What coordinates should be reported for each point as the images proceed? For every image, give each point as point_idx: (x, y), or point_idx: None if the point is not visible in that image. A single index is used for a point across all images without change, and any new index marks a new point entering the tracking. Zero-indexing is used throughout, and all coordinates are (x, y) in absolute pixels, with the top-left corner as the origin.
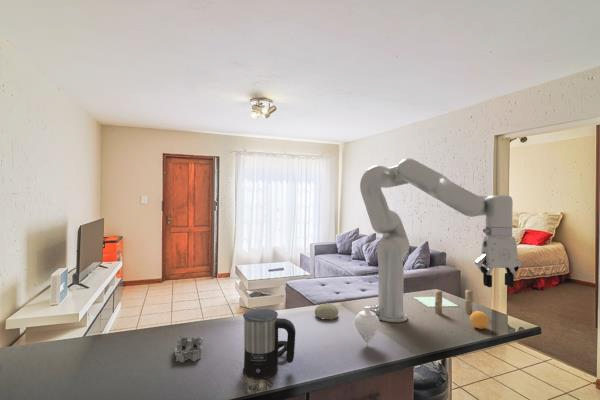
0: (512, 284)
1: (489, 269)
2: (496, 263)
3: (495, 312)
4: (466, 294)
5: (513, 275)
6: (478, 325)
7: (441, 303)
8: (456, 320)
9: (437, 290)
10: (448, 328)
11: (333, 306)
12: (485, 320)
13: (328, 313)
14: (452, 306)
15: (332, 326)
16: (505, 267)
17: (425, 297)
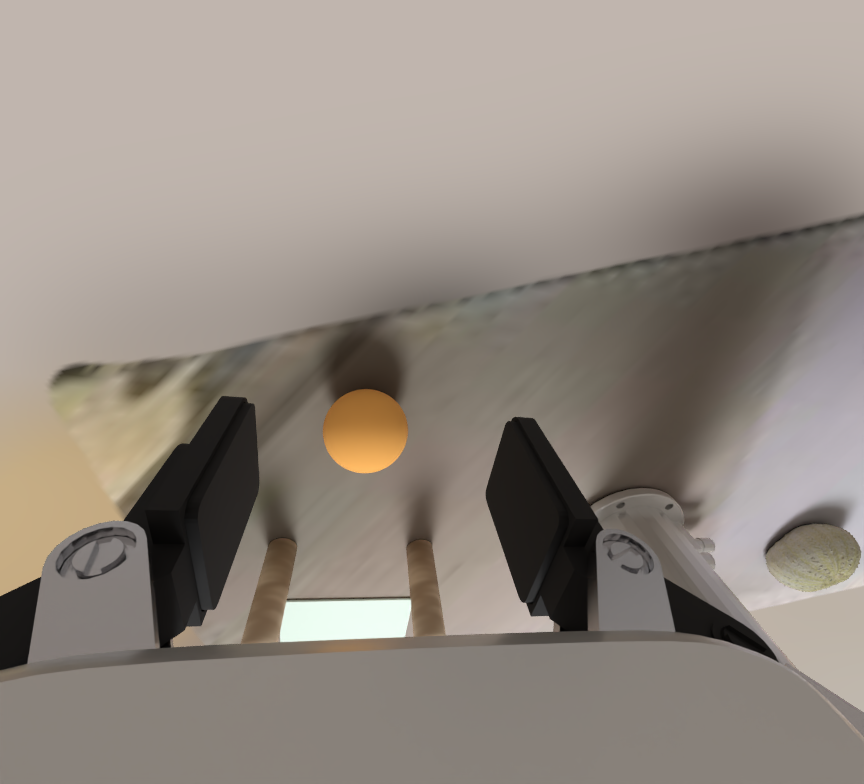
0: (228, 411)
1: (653, 616)
2: (743, 762)
3: None
4: (280, 626)
5: (151, 503)
6: (393, 399)
7: (419, 580)
8: (401, 486)
9: None
10: (501, 424)
11: (820, 569)
12: (364, 402)
13: (842, 538)
14: (307, 600)
15: (848, 481)
16: (372, 641)
17: None
